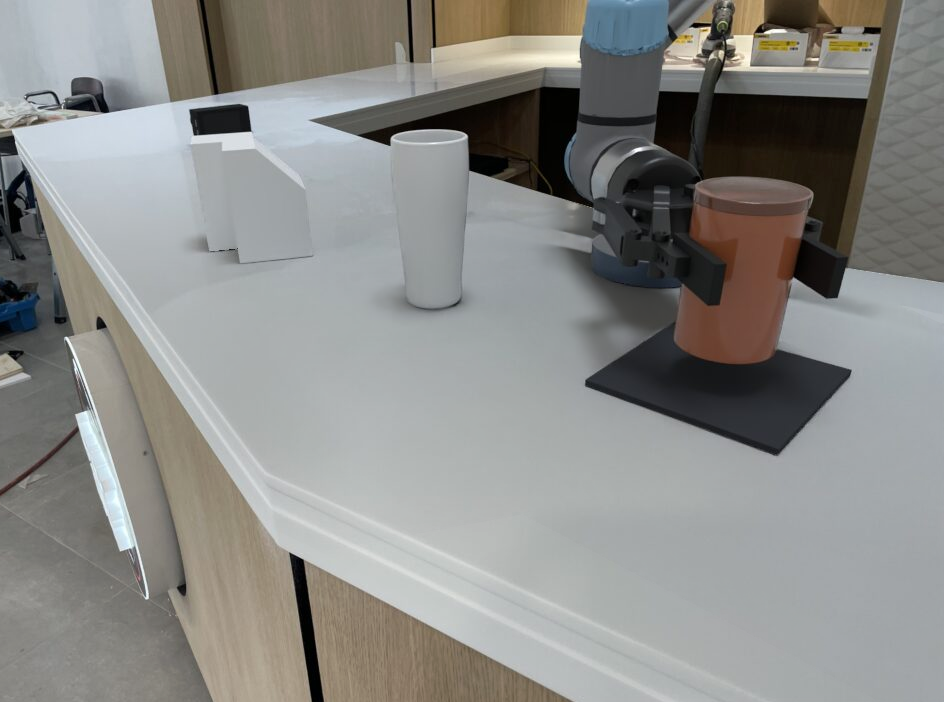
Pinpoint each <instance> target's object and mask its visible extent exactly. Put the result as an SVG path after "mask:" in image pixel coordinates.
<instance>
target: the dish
mask: <svg viewBox="0 0 944 702" xmlns="http://www.w3.org/2000/svg"><path fill="white" fill-rule="evenodd" d="M672 240H673V239H672ZM672 240H671V241H672ZM590 253H591V255H590V267H591V269H592V270H593V272H594V273H595V274H597V275H598V276H600V277H602V278H604V279H606V280H609V281H612V282H615V281H616V282H615V283H618V282H619V284H622V283H624V284H623V285H627V284H629V285H628V286H633V285H635V286H634V287H640V286H641V287H640V288H651V287H653V288H654V289H656V288H657V289H667V288H668V289H669V288H681V282H680V281H679V280H678V279H677V278H673V277H670V276H668V275H667V274H666V273H665V277H664V278H662V279H654V278H650V277H648V276H647V274H648V266H649V261H638V265H637V266H635V267H625V266H623V265H622V264H621V263H620V262H619V260H618V258H617V257H616V255H615V253H614V252H613V250H612V249H611V247H610V245H609V244H608V242H607V240H606V239H605V237H604V236H603V235H602V234H600V233H598V235H596V236H594V238H593V239H592V242H591V252H590Z"/></svg>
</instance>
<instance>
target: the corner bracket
mask: <svg viewBox="0 0 944 702" xmlns="http://www.w3.org/2000/svg"><path fill="white" fill-rule="evenodd" d="M189 146H190V152H191V157H192V162H193V166H194V167H193V168H194V174H195V180H196V185H197V190H198V196H199V202H200V206H201V213H202V218H203V224H204V229H205V234H206V241H207V246H208V251H209V253H211V252H210V251H215V252H220V251H219V250H225V251H230V250H229V249H235V250H237V253H238V260H239V264H249V263H250V264H251V263H259V262H269V261H278V260H288V259H297V258H306V257H307V258H308V257H314V252H313V243H312V235H311V225H310V216H309V207H308V206H309V205H308V197H307V190H306V187H305V185H304V183H303V179H302V178H301V175H300V174H299V173H297V172H296V171H295V170H294V169H292V168H291V167H290V166H289V165H287V164H286V163H285V162H284V161H283V160H282V159H280V158H279V157H278V156H277V155H276V154H274V153H273V151H271V150H269V148H267V147H266V146H265V145H264V144H262V143H261V142H260V141H259V140H257V139H256V138H255V137H254V136H253V131H252V132H242V133H227V134H213V135H198V136H194V135H192V136H191V138H190V142H189ZM237 248H238V249H237Z"/></svg>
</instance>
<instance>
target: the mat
mask: <svg viewBox="0 0 944 702" xmlns="http://www.w3.org/2000/svg"><path fill="white" fill-rule="evenodd" d="M675 322H676V320H675V321H673V322H672V323H670V324H669V325H667V326H666V327H664V328H663V329H661V330H659V331H658V332H657V333H655V334H653V335H652V336H650V337H649V338H648V339H646V340H644V341H642V342H641V343H639V344H637V345H636V346H635V347H633V348H632V349H630V350H629V351H627V352H626V353H624V354H622V355H620V356H619V357H617V358H616V359H614V360H613V361H612V362H610V363H609V364H607V365H606V366H604V367H602V368H600V370H598V371H597V372H594V373H593V374H591V375H590V376H589V377H587V378H586V379H585V380H584V385H585V387H589V388H592V389H594V390H597V391H600V392H602V393H605V394H608V395H611V396H612V397H613V396H614V397H616V398H619V399H622V400H624V401H627V402H630V403H632V404H635V405H638V406H641V407H643V408H647V409H649V410H652V411H655V412H657V413H660V414H663V415H665V416H668V417H670V418H674V419H676V420H679V421H681V422H684V423H688V424H690V425H693V426H696V427H698V428H701V429H704V430H707V431H709V432H711V433H715V434H717V435H720V436H723V437H726V438H729V439H731V440H733V441H736V442H739V443H742V444H744V445H747V446H750V447H753V448H755V449H758V450H761V451H763V452H767V453H769V454H771V455H774V456H778V455H779V454H780V453H781V452H782V451H783V450H784V449H785V448H786V446H787V445H788V444H790V442H791V441H792V440H793V439H794V438H795V437H796V436H797V434H798V433H799V432H800V431H801V430H802V429H803V428H804V427H805V426H806V425H807V423H808V422H809V421H810V420H811V419H812V418H813V417H814V416H815V415H816V414H817V413H818V411H820V409H821V408H822V407H823V406H824V405H825V404H826V403H827V402H828V401H829V400H830V399H831V397H832V396H833V395H834V394H835V393H836V392H837V391H838V389H840V388H841V387H842V385H843V384H844V383H845V382H846V381H847V380H848V379H849V378H850V377H851V374H852V369H850V368H848V367H847V368H846V367H844V366H839V365H835V364H832V363H829V362H825V361H822V360H818V359H814V358H810V357H807V356H803V355H800V354H797V353H793V352H789V351H785V350H782V349H778V348H777V351H776V353H775V354H774V356H773V357H771V358H770V359H767V360H765V361H762V362H758V363H752V364H727V363H719V362H714V361H709V360H705V359H702V358H699V357H696V356H693V355H691V354H689V353H687V352H685V351H684V350H682V349H681V348H680V347H678V345H677V344H676V343H675V341H674V338H673V336H674V329H675Z"/></svg>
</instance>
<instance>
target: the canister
mask: <svg viewBox="0 0 944 702" xmlns="http://www.w3.org/2000/svg"><path fill="white" fill-rule="evenodd" d="M693 200H694V201H693V208H692V215H691V221H690V228H689V235H688V236H690V237H691V238H692V239H694V240H695V241H696V242H698V243H699V244H700V245H702V246H703V247H705V248H706V249H707V250H709V251H710V252H711V253H713V254H714V255H716V256H717V257H718V258H720V259H721V260H722V261H724V262H725V263H726V264H727V267H726V272H725V278H724V284H723V289H722V295H721V300H720V305H717V306H707V305H706V304H705V303H704V302H703V301H702V300H701V299H699V298H698V297H697V296H696V295H695V294H694V293H693V292H692V291H690V290H689V289H688V288H687V287H686V286H685V285H684V284H683V283H681V287H679V288H680V289H679V295H678V303H677V309H676V317H675V321H676V322H675V321H674V322H675V329H674V336H673V338H674V341H675V343H676V344H677V345H678V347H680V348H681V349H682V350H684V351H685V352H687V353H689V354H691V355H693V356H696V357H699V358H702V359H705V360H709V361H714V362H719V363H727V364H752V363H758V362H762V361H765V360H767V359H770V358H771V357H773V356H774V354H775V353H776V351H777V349H778V347H779V342H780V337H781V334H782V330H783V325H784V321H785V315H786V311H787V307H788V303H789V299H790V293H791V289H792V286H793V281H794V272H795V268H796V263H797V259H798V254H799V250H800V246H801V241H802V237H803V232H804V228H805V223H806V219H807V216H808V214H809V210H810V209H811V207H812V204H813V200H814V192H813V191H812V190H811V189H810V188H808V187H807V186H805V185H804V186H803V185H801V184H798V183H794V182H791V181H787V180H783V179H775V178H768V177H756V176H722V177H721V176H720V177H712V178H707V179H703V180H702V181H700V182H698V183H697V184H695V186H694V191H693Z"/></svg>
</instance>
